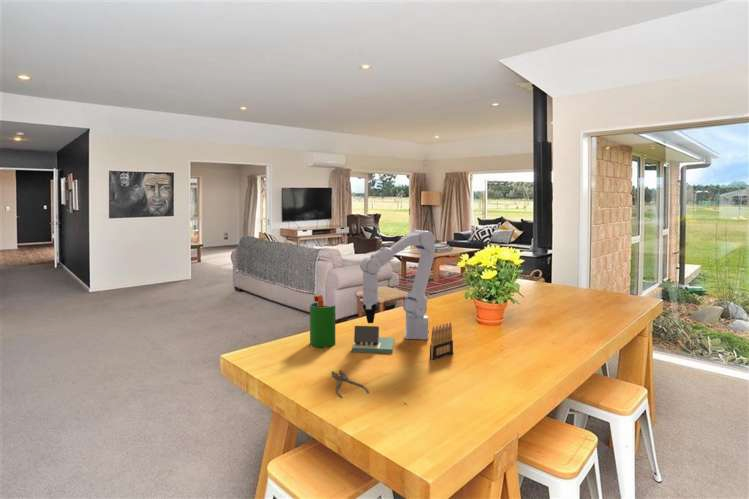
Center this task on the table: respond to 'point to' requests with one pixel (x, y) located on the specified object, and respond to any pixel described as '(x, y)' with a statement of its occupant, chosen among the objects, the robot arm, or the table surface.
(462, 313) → the table surface
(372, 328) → the block
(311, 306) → the green and brown cylinder
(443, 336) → the ammunition clip
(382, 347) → the header board
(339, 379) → the pliers
